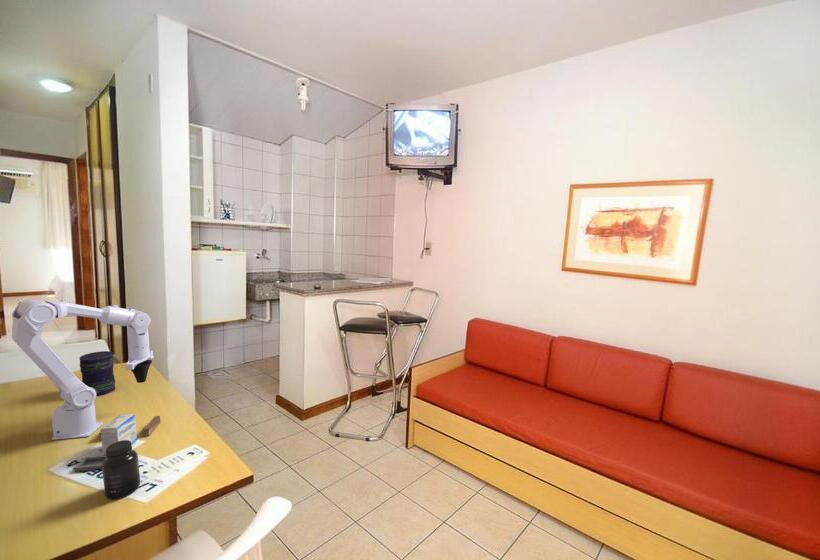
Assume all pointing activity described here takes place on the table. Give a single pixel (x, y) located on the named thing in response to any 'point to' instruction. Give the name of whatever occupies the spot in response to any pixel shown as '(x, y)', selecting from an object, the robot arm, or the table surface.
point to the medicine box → (119, 431)
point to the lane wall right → (151, 426)
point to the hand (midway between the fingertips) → (141, 381)
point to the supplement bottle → (120, 470)
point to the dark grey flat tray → (90, 463)
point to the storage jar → (98, 372)
